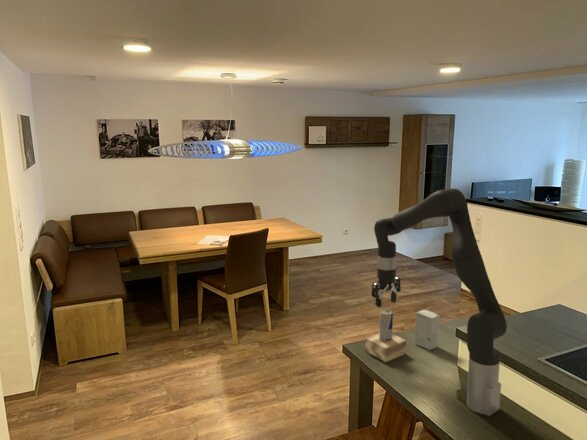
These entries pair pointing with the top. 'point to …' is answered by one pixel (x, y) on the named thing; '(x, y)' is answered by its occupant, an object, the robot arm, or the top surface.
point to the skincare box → (427, 329)
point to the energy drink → (385, 325)
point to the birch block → (385, 347)
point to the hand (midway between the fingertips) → (386, 304)
